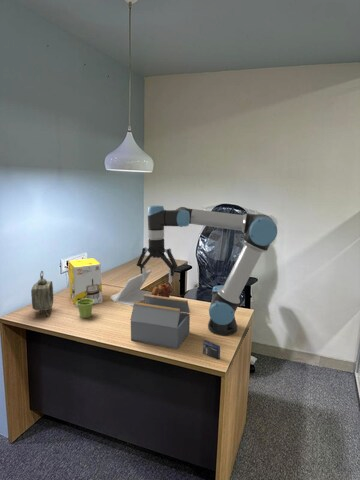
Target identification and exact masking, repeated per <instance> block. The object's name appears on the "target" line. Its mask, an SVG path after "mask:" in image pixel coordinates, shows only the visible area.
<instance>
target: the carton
mask: <svg viewBox="0 0 360 480" xmlns="http://www.w3.org/2000/svg"><path fill="white" fill-rule="evenodd" d="M190 317H191V314H190V313H185V312H180V316H179V321H178V327H177V328H173V327H167V326H161V325H155V324H149V323H144V322H138V321H132V320H130V340H131V342H132V341H133V342H139V343H141V344H142V343H143V344H149V345H154V346H159V347H165V348H168V349H169V348H170V349H174V350H178V349H179V348H180V346H181V345H182V343H183V342H184V340H185V339H186V338H187V336H188V335H189V334H190V331H191V330H190V327H191V326H190V322H191V319H190Z"/></svg>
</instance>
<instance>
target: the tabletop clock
mask: <svg viewBox="0 0 360 480" xmlns="http://www.w3.org/2000/svg"><path fill="white" fill-rule="evenodd" d="M39 276H40V277H39V279H38V280H37V282H35V283H34V284H33V286H32V287H31V290H30V291H31V293H30V294H31V304H32V309H33V310H35V311H38V314H42V312H43V311H44V312H45V317H49V315H50V314H49V313H48V311H47V310H52V308H53V305H54V286H53V281H51V280H50V281H49V280H47V279H46V278H44V271H43V270H41V271H40V274H39Z"/></svg>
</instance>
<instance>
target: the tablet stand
mask: <svg viewBox="0 0 360 480" xmlns="http://www.w3.org/2000/svg"><path fill="white" fill-rule="evenodd" d="M152 272H153V270H152V269H149V270H146V280H147V279H148V278H149V276H150V274H151V273H152ZM146 280H145V281H143V278H142V274H141V273H140V274H137V275H136V276H133V277H131V278H129V279H128V280H127V282H126V283H125V285H124V286H123V288H122V289H121V291H120V292H118V293H115V294H113V295H112V296H110V300H111V301H113V303H117V304H121V305H126V306H131V307H133V306H134V302H138V303H142V302H143V301H145V299H144V297H143V295H144V294H147V295H152V291H147V290H144V289H143V290H142V289H141V288H142V287H143V285H144V284H145V282H146Z"/></svg>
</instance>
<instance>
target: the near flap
mask: <svg viewBox="0 0 360 480" xmlns="http://www.w3.org/2000/svg"><path fill="white" fill-rule="evenodd" d="M180 310H181V309H178V308H171V307H165V306H158V305H151V304H146V302H145V303H143V302H140V303H138V302H134V306H132V311H131V314H130V315H131V316H130V319H129V320H130V321H131V320H132V321H138V322H144V323H149V324H155V325H161V326H167V327H173V328H177V327H178V321H179V316H180V313H181V312H180Z"/></svg>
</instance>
